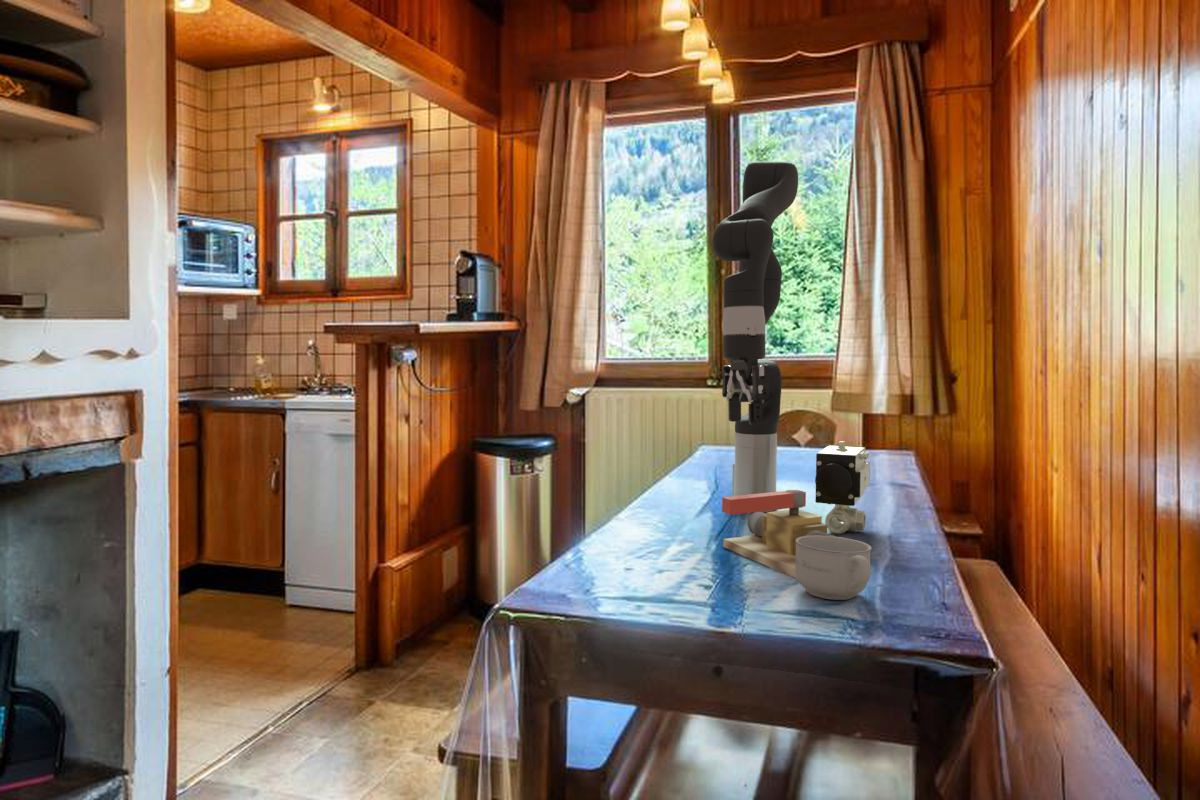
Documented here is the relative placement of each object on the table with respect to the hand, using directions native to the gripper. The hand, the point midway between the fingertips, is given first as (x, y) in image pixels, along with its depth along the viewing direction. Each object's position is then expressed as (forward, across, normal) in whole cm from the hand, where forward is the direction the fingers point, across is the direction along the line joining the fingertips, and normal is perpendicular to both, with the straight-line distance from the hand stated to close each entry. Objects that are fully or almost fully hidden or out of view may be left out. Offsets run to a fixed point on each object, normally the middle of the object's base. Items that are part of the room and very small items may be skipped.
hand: (744, 423), depth 140 cm
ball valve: (+23, -8, +24) cm, 34 cm away
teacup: (+24, +28, +1) cm, 37 cm away
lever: (+14, +8, 0) cm, 16 cm away
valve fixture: (+23, +7, +6) cm, 25 cm away
